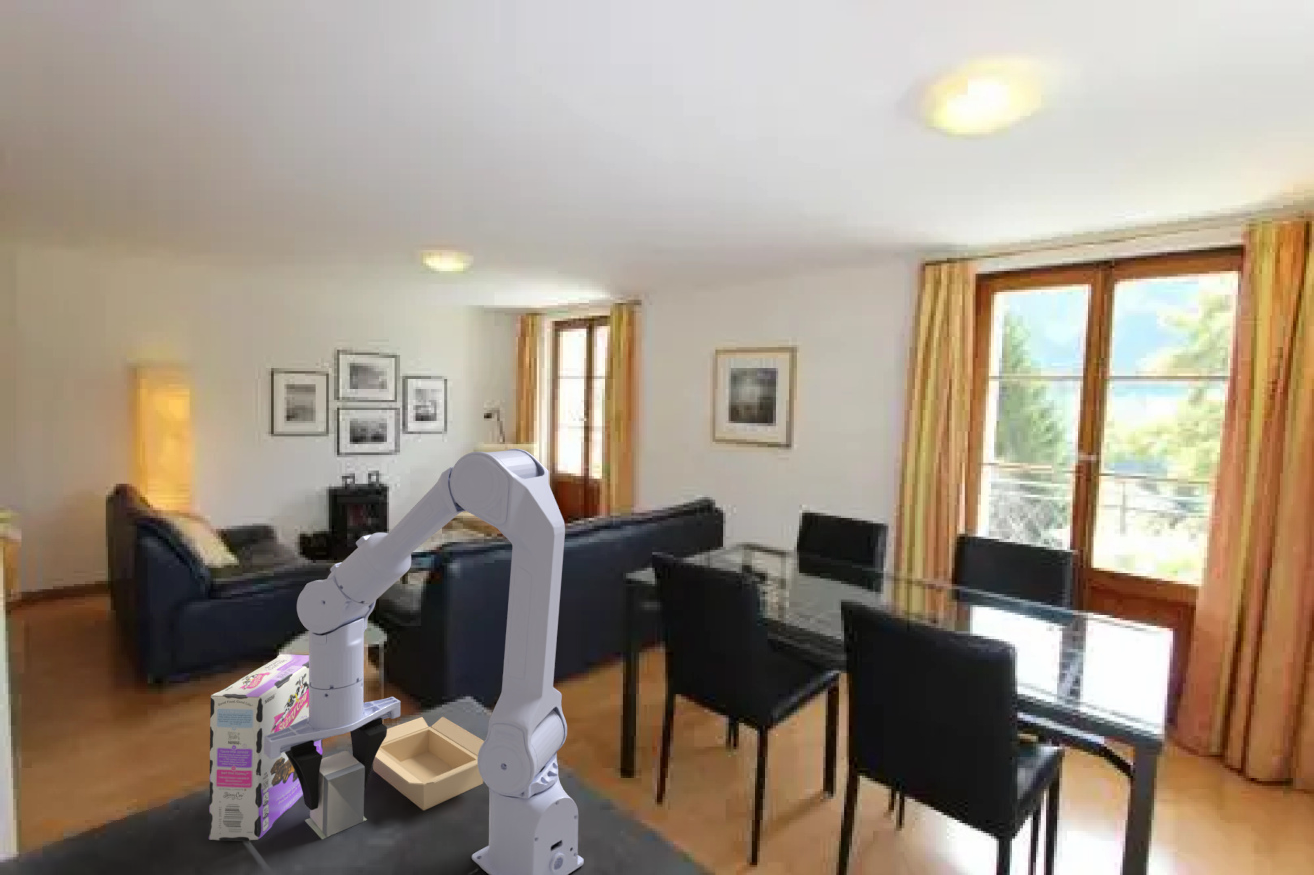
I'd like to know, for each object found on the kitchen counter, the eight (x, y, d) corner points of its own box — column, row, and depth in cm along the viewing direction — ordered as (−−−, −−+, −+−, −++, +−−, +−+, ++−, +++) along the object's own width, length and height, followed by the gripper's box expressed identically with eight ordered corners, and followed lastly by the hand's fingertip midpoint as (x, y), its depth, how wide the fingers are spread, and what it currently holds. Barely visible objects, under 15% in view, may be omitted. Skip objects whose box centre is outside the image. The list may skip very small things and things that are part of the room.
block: (309, 816, 77) (311, 761, 77) (345, 802, 80) (346, 749, 79) (326, 837, 73) (328, 780, 73) (363, 821, 76) (364, 766, 76)
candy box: (259, 844, 73) (259, 696, 72) (206, 842, 73) (206, 695, 73) (324, 777, 87) (325, 652, 86) (280, 775, 87) (280, 651, 86)
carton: (435, 742, 96) (435, 712, 96) (503, 786, 85) (503, 752, 85) (353, 773, 88) (353, 740, 87) (416, 826, 76) (417, 789, 76)
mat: (366, 822, 77) (367, 819, 77) (322, 842, 73) (322, 838, 73) (348, 805, 80) (348, 802, 80) (304, 823, 77) (304, 820, 77)
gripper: (381, 655, 84) (381, 760, 85) (254, 688, 74) (254, 808, 74) (409, 670, 80) (408, 781, 80) (277, 707, 69) (277, 835, 69)
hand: (336, 795), depth 77 cm, fingers open, 5 cm apart
